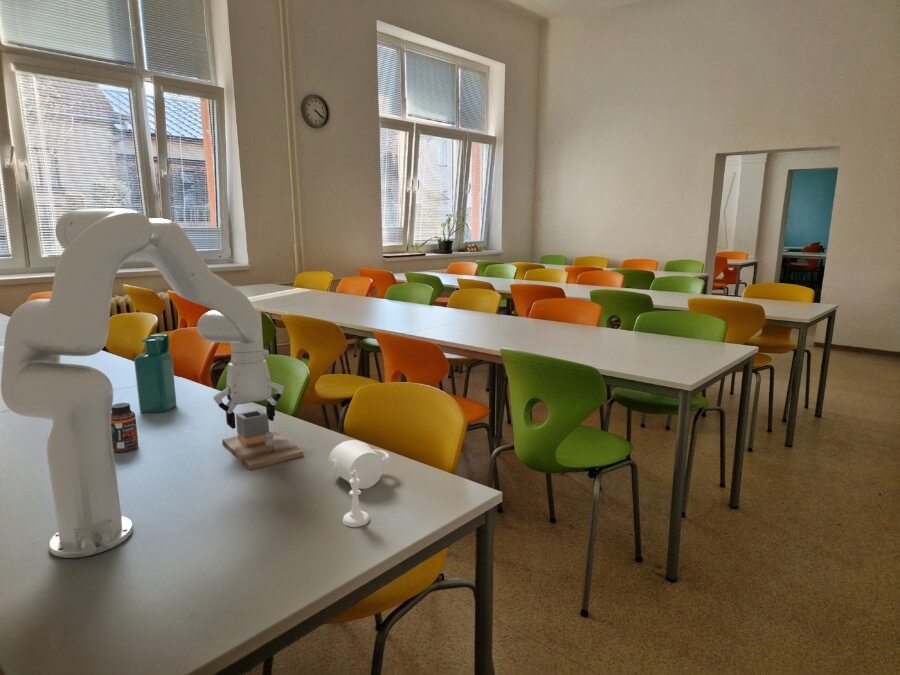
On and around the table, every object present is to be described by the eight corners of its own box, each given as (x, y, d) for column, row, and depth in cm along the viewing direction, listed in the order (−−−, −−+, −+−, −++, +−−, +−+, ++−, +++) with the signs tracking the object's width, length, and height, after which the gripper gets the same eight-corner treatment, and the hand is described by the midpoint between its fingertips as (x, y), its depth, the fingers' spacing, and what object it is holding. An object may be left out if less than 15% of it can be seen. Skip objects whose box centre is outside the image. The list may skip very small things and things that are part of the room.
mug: (346, 494, 119) (345, 458, 117) (328, 478, 126) (327, 443, 125) (397, 480, 125) (396, 445, 124) (377, 465, 133) (377, 432, 131)
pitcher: (165, 413, 170) (157, 340, 165) (137, 412, 170) (128, 340, 166) (181, 403, 179) (174, 333, 175) (154, 402, 179) (147, 333, 175)
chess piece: (357, 511, 111) (355, 462, 109) (374, 519, 108) (373, 469, 106) (337, 521, 108) (335, 471, 106) (354, 529, 105) (353, 478, 103)
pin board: (303, 455, 138) (302, 431, 137) (249, 469, 130) (247, 444, 129) (272, 432, 154) (270, 410, 152) (222, 443, 146) (220, 420, 144)
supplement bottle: (126, 454, 139) (121, 409, 137) (105, 452, 141) (100, 407, 138) (144, 444, 145) (139, 402, 143) (123, 443, 146) (118, 400, 144)
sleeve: (261, 432, 150) (259, 409, 149) (269, 439, 145) (267, 415, 144) (237, 438, 146) (235, 413, 145) (245, 445, 142) (243, 419, 140)
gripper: (275, 350, 150) (279, 413, 153) (206, 359, 139) (211, 426, 142) (287, 355, 144) (290, 420, 147) (215, 364, 133) (220, 434, 137)
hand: (251, 423), depth 145 cm, fingers open, 9 cm apart
